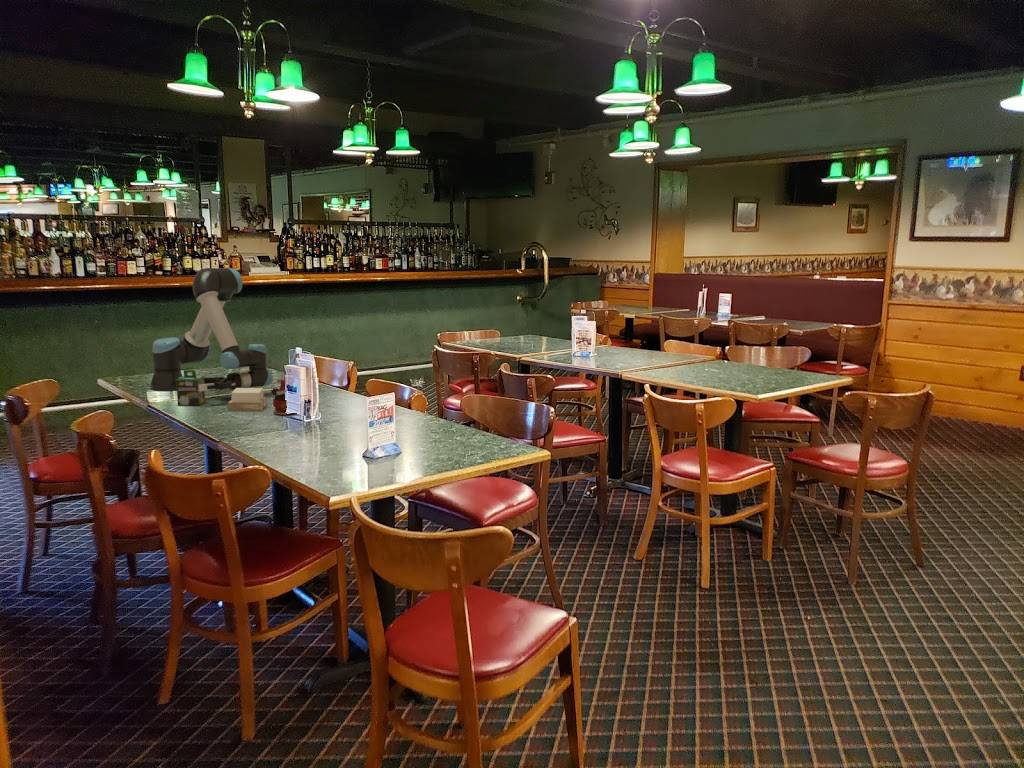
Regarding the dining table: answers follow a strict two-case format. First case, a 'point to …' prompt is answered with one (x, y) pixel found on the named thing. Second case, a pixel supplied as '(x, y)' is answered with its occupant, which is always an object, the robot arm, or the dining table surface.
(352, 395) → the dining table surface
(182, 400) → the chalk box
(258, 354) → the robot arm
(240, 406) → the tower base
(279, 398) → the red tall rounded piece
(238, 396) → the tower top
